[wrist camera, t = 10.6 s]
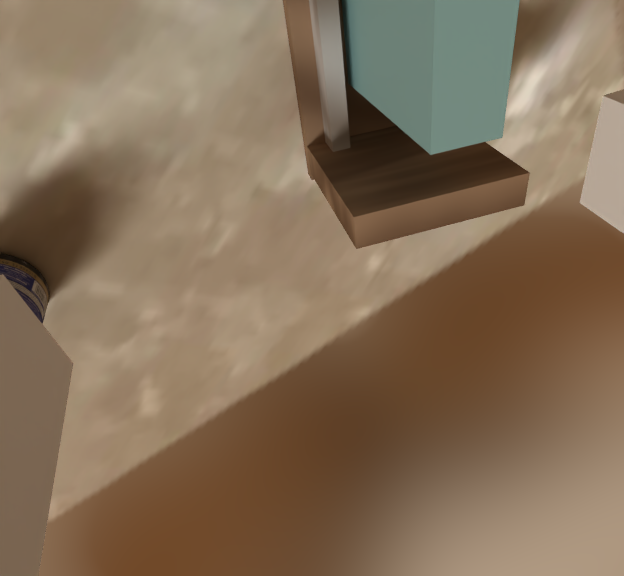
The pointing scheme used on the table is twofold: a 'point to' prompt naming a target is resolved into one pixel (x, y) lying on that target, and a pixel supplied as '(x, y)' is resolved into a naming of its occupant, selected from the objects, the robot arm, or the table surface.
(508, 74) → the green rectangular box
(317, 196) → the table surface
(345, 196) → the wooden desk organizer
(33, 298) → the pill bottle
